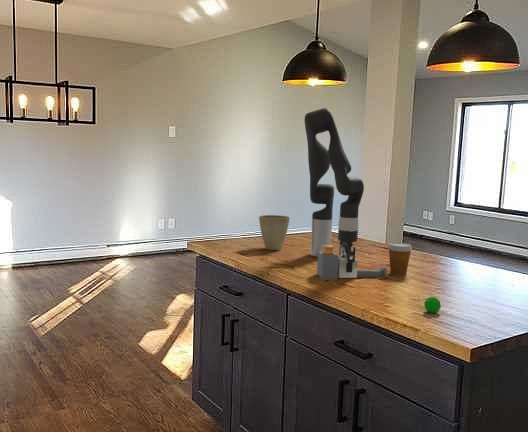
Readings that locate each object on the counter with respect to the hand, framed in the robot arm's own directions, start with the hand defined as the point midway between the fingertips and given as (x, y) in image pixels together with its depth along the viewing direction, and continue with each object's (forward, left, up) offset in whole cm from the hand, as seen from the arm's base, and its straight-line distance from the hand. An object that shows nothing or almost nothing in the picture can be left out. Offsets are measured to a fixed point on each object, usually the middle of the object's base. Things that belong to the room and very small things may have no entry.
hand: (346, 269), depth 220 cm
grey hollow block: (0, -8, -3) cm, 8 cm away
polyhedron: (+48, +14, -3) cm, 50 cm away
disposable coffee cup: (-6, +23, -3) cm, 24 cm away
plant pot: (-59, -21, -3) cm, 63 cm away
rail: (0, +5, -3) cm, 6 cm away
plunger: (0, -7, +5) cm, 9 cm away
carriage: (0, 0, -3) cm, 3 cm away
